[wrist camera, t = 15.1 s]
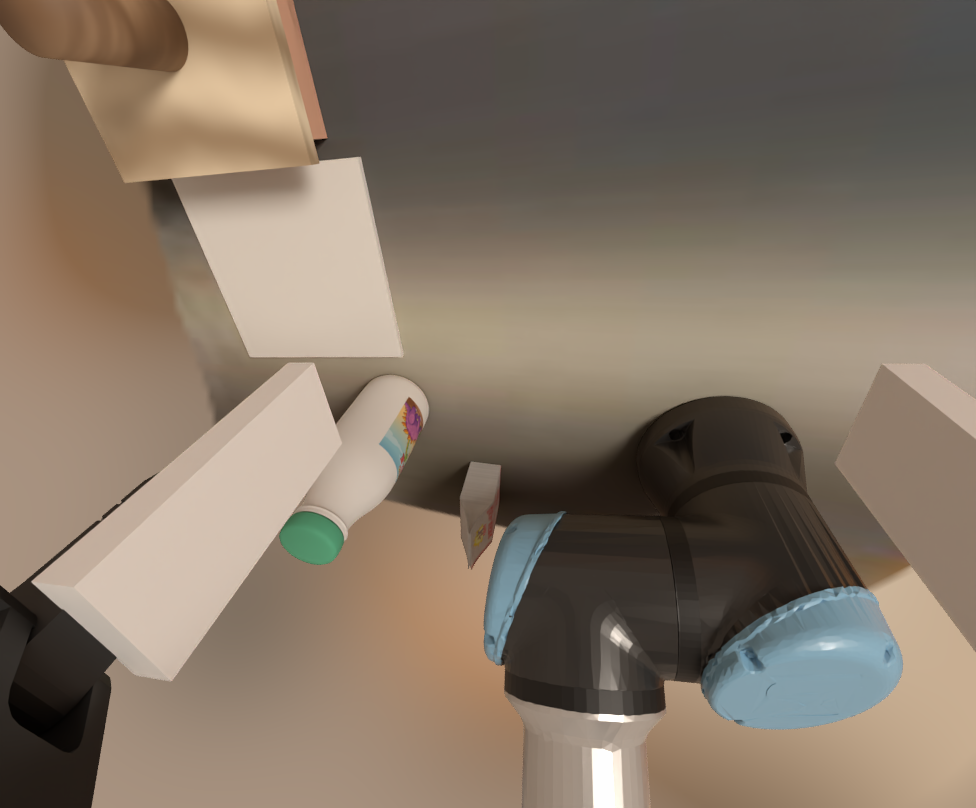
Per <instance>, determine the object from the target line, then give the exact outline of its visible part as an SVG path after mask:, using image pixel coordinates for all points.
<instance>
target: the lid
mask: <svg viewBox="0 0 976 808" xmlns="http://www.w3.org/2000/svg"><path fill="white" fill-rule="evenodd" d="M0 25H1V26H2V27H3V28H4V30H5V31H6V32H7V33H8V35H9V36H10V37H11V38H12V39H13V40H14V41H15V42H16V43H18V44H19V45H20V46H21V47H22V48H24V49H25V50H26V51H28V52H30V53H31V54H33V55H36V56H38V57H42V58H50V59H58V60H64V62H65V64H66V66H67V68H68V70H69V72H70V74H71V76H72V78H73V80H74V82H75V84H76V86H77V88H78V90H79V92H80V94H81V96H82V98H83V100H84V102H85V104H86V106H87V108H88V110H89V112H90V114H91V116H92V118H93V120H94V122H95V124H96V126H97V128H98V130H99V132H100V134H101V136H102V138H103V140H104V142H105V144H106V146H107V148H108V150H109V153H110V154H111V156H112V158H113V161H114V163H115V165H116V167H117V169H118V171H119V173H120V174H121V176H122V178H123V181H124V183H130V182H140V181H151V180H161V179H172V178H182V177H192V176H203V175H213V174H224V173H234V172H245V171H255V170H265V169H276V168H286V167H297V166H307V165H315V164H320V163H319V159H318V155H317V152H316V148H315V144H314V140H313V137H312V133H311V129H310V125H309V121H308V118H307V114H306V110H305V106H304V103H303V99H302V95H301V91H300V88H299V84H298V80H297V76H296V73H295V69H294V65H293V61H292V58H291V54H290V50H289V46H288V43H287V39H286V35H285V31H284V28H283V24H282V20H281V16H280V13H279V9H278V5H277V1H276V0H0Z"/></svg>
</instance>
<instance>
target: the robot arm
mask: <svg viewBox="0 0 976 808" xmlns="http://www.w3.org/2000/svg"><path fill="white" fill-rule="evenodd" d="M341 444H342V441H341V439H340V436H339V433H338V430H337V427H336V424H335V422H334V419H333V416H332V413H331V410H330V407H329V404H328V402H327V399H326V396H325V393H324V390H323V387H322V385H321V382H320V379H319V376H318V373H317V370H316V368H315V365H314V363H287V364H286V365H285V366H284V367H283V368H281V369H280V370H279V371H278V372H277V373H276V374H274V375H273V376H272V377H271V378H270V379H269V380H267V381H266V382H265V383H264V384H263V385H261V386H260V387H259V388H258V389H257V390H256V391H254V392H253V393H252V394H251V395H250V396H249V397H247V398H246V399H245V400H244V401H243V402H241V403H240V404H239V405H238V406H237V407H236V408H234V409H233V410H232V411H231V412H230V413H229V414H227V415H226V416H225V417H224V418H223V419H222V420H220V421H219V422H218V423H217V424H216V425H214V426H213V427H212V428H211V429H210V430H209V431H208V432H206V433H205V434H204V435H203V436H202V437H201V438H199V439H198V440H197V441H196V442H194V443H193V444H192V445H191V446H190V447H189V448H187V449H186V450H185V451H184V452H183V453H182V454H180V455H179V456H178V457H177V458H176V459H175V460H173V461H172V462H171V463H170V464H169V465H167V466H166V467H165V468H164V469H163V470H162V471H160V472H159V473H157V474H155V475H154V476H152V477H150V478H148V479H147V480H145V481H144V482H142V483H141V484H140V485H139V486H138V487H136V488H135V489H134V490H133V491H132V492H131V493H129V494H128V495H127V496H126V497H125V498H123V499H122V500H121V501H122V503H121V504H116V505H115V506H114V507H113V508H111V509H110V510H109V511H108V512H107V513H106V514H104V515H103V516H102V517H103V518H102V520H101V521H96V522H95V523H94V524H92V525H91V526H90V527H89V528H88V529H87V530H85V531H84V532H83V533H82V534H81V535H79V536H78V537H77V538H76V539H75V540H73V541H72V542H71V543H70V544H69V545H67V546H66V547H65V548H64V549H63V550H62V551H60V552H59V553H58V554H57V555H56V556H54V557H53V558H52V559H51V560H50V561H48V562H47V563H46V564H45V565H44V566H43V567H41V568H40V569H39V570H38V571H37V572H35V573H34V574H33V575H32V576H31V577H29V578H28V579H27V580H26V581H25V582H23V583H22V584H21V585H20V586H19V587H17V588H16V589H14V590H13V591H12V592H10V593H9V592H7V591H6V590H5V589H4V588H3V587H2V586H0V808H91V806H92V800H93V794H94V788H95V781H96V776H97V770H98V764H99V759H100V753H101V747H102V741H103V734H104V729H105V723H106V717H107V711H108V705H109V699H110V693H111V681H110V677H109V676H108V675H106V674H105V673H104V672H105V671H106V669H107V668H108V667H109V666H110V665H111V664H112V663H113V661H114V660H115V659H116V658H117V659H118V660H119V661H120V662H121V663H122V664H123V665H125V666H126V667H127V668H128V669H129V670H130V671H131V672H132V673H133V674H135V675H137V676H143V677H149V678H154V679H160V680H166V681H172V680H173V678H174V677H175V676H176V674H177V673H178V672H179V670H180V669H181V667H182V666H183V665H184V663H185V662H186V660H187V659H188V658H189V656H190V655H191V653H192V652H193V651H194V649H195V648H196V647H197V645H198V644H199V642H200V641H201V639H202V638H203V637H204V635H205V634H206V633H207V631H208V630H209V628H210V627H211V626H212V624H213V623H214V621H215V620H216V619H217V617H218V616H219V614H220V613H221V611H222V610H223V609H224V607H225V606H226V605H227V603H228V602H229V601H230V599H231V598H232V596H233V595H234V593H235V592H236V591H237V589H238V588H239V587H240V585H241V584H242V582H243V581H244V580H245V578H246V577H247V575H248V574H249V573H250V571H251V570H252V568H253V567H254V566H255V564H256V563H257V562H258V560H259V559H260V557H261V556H262V555H263V553H264V552H265V550H266V549H267V548H268V546H269V545H270V543H271V542H272V541H273V539H274V538H275V536H276V535H277V533H278V532H279V531H280V529H281V528H282V527H283V525H284V524H285V522H286V521H287V520H288V518H289V517H290V516H291V514H292V513H293V511H294V510H295V509H296V507H297V506H298V504H299V503H300V501H301V500H302V499H303V497H304V496H305V495H306V493H307V492H308V490H309V489H310V488H311V486H312V485H313V483H314V482H315V481H316V479H317V478H318V476H319V475H320V474H321V472H322V471H323V470H324V468H325V467H326V465H327V464H328V463H329V461H330V460H331V458H332V457H333V456H334V454H335V453H336V451H337V450H338V449H339V447H340V446H341ZM636 461H637V468H638V474H639V479H640V482H641V485H642V487H643V489H644V491H645V493H646V495H647V496H648V497H649V499H650V500H651V502H652V503H653V504H654V506H655V507H656V509H657V510H658V512H659V513H660V514H661V516H634V515H582V514H567V513H566V511H560V512H558V513H556V514H527V515H522V516H520V517H518V518H516V519H515V520H513V521H512V522H511V523H510V525H509V526H508V527H507V529H506V530H505V532H504V534H503V536H502V539H501V541H500V543H499V546H498V549H497V552H496V555H495V559H494V563H493V567H492V571H491V575H490V580H489V585H488V591H487V597H486V605H485V613H484V630H485V636H484V649H485V653H486V655H487V657H488V659H489V660H491V661H493V662H495V664H496V665H501V666H502V665H505V688H504V694H505V696H506V698H507V699H508V700H509V702H510V703H511V704H512V706H513V707H514V708H515V710H516V711H517V712H518V714H519V715H520V717H521V719H522V721H523V724H524V735H523V778H522V779H523V780H522V808H651V806H650V793H649V780H648V766H647V753H646V738H647V735H648V733H649V731H650V730H651V729H652V728H653V727H654V726H655V725H656V724H657V723H658V722H659V721H660V720H661V719H662V718H663V716H664V715H665V714H666V706H665V693H664V681H665V680H671V681H681V682H691V683H699V684H701V690H702V693H703V694H704V697H705V698H706V699H707V700H708V702H709V704H710V706H711V708H712V709H713V710H714V711H715V712H716V713H717V714H719V715H720V716H721V717H723V718H725V719H727V720H734V721H735V722H736V723H738V724H739V725H742V726H747V727H752V728H761V729H797V728H807V727H814V726H819V725H824V724H828V723H833V722H837V721H840V720H843V719H846V718H848V717H852V716H855V715H857V714H860V713H862V712H864V711H866V710H868V709H870V708H872V707H873V706H875V705H876V704H878V703H879V702H881V701H882V700H884V699H885V698H886V697H887V696H888V695H889V694H890V693H891V692H892V691H893V689H894V688H895V687H896V685H897V684H898V682H899V680H900V678H901V674H902V669H903V660H902V654H901V651H900V648H899V646H898V644H897V642H896V640H895V638H894V636H893V634H892V632H891V630H890V628H889V626H888V624H887V622H886V620H885V618H884V616H883V614H882V613H881V610H880V608H879V602H878V601H877V599H876V597H875V596H874V594H873V593H871V592H870V591H869V590H868V589H867V587H866V586H865V584H864V583H863V581H862V580H861V578H860V576H859V575H858V573H857V572H856V570H855V568H854V567H853V565H852V564H851V562H850V561H849V559H848V557H847V556H846V554H845V553H844V551H843V549H842V548H841V546H840V545H839V543H838V542H837V540H836V538H835V537H834V535H833V534H832V532H831V530H830V529H829V527H828V526H827V524H826V523H825V521H824V519H823V518H822V516H821V515H820V513H819V511H818V510H817V508H816V507H815V505H814V504H813V502H812V500H811V499H810V497H809V495H808V494H807V487H806V477H805V467H804V457H803V450H802V447H801V444H800V441H799V439H798V437H797V436H796V434H795V433H794V431H793V430H792V428H791V427H790V425H789V424H788V422H787V421H786V420H785V419H784V418H783V417H782V416H781V415H780V414H779V413H778V412H777V411H775V410H774V409H772V408H771V407H769V406H767V405H765V404H763V403H760V402H758V401H754V400H751V399H747V398H741V397H729V396H724V397H711V398H704V399H700V400H695V401H692V402H689V403H686V404H683V405H681V406H679V407H677V408H675V409H673V410H671V411H669V412H667V413H666V414H664V415H663V416H662V417H660V418H659V419H658V420H657V421H655V422H654V423H653V424H652V425H651V426H650V428H649V429H648V430H647V431H646V433H645V434H644V436H643V437H642V439H641V441H640V444H639V446H638V450H637V457H636ZM835 465H836V466H837V468H838V469H839V470H840V472H841V473H842V474H843V476H844V477H845V478H846V480H847V481H848V482H849V484H850V485H851V486H852V488H853V489H854V490H855V492H856V493H857V494H858V496H859V497H860V498H861V500H862V501H863V502H864V504H865V505H866V506H867V508H868V509H869V510H870V512H871V513H872V514H873V516H874V517H875V518H876V520H877V521H878V522H879V524H880V525H881V526H882V528H883V529H884V530H885V532H886V533H887V534H888V536H889V537H890V538H891V540H892V541H893V542H894V544H895V545H896V546H897V548H898V549H899V550H900V552H901V553H902V554H903V556H904V557H905V558H906V560H907V561H908V562H909V564H910V565H911V566H912V568H913V569H914V570H915V572H916V573H917V574H918V576H919V577H920V578H921V580H922V581H923V582H924V584H925V585H926V586H927V588H928V589H929V590H930V592H931V593H932V594H933V596H934V597H935V598H936V599H937V601H938V602H939V603H940V605H941V606H942V607H943V609H944V610H945V612H946V613H947V614H948V616H949V617H950V618H951V620H952V621H953V622H954V624H955V625H956V626H957V628H958V629H959V630H960V632H961V633H962V634H963V636H964V637H965V638H966V640H967V641H968V642H969V644H970V645H971V646H972V648H973V649H974V650H975V652H976V399H974V398H973V397H972V396H970V395H969V394H967V393H966V392H964V391H963V390H962V389H960V388H959V387H957V386H956V385H955V384H953V383H952V382H950V381H949V380H947V379H946V378H945V377H943V376H942V375H940V374H939V373H937V372H936V371H935V370H933V369H932V368H930V367H929V366H927V365H926V364H882V365H881V367H880V369H879V371H878V373H877V375H876V377H875V379H874V381H873V384H872V386H871V388H870V390H869V392H868V394H867V396H866V398H865V400H864V403H863V405H862V407H861V409H860V411H859V413H858V415H857V417H856V420H855V422H854V424H853V426H852V428H851V430H850V432H849V434H848V436H847V439H846V441H845V443H844V445H843V447H842V449H841V451H840V453H839V455H838V458H837V460H836V462H835Z"/></svg>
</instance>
